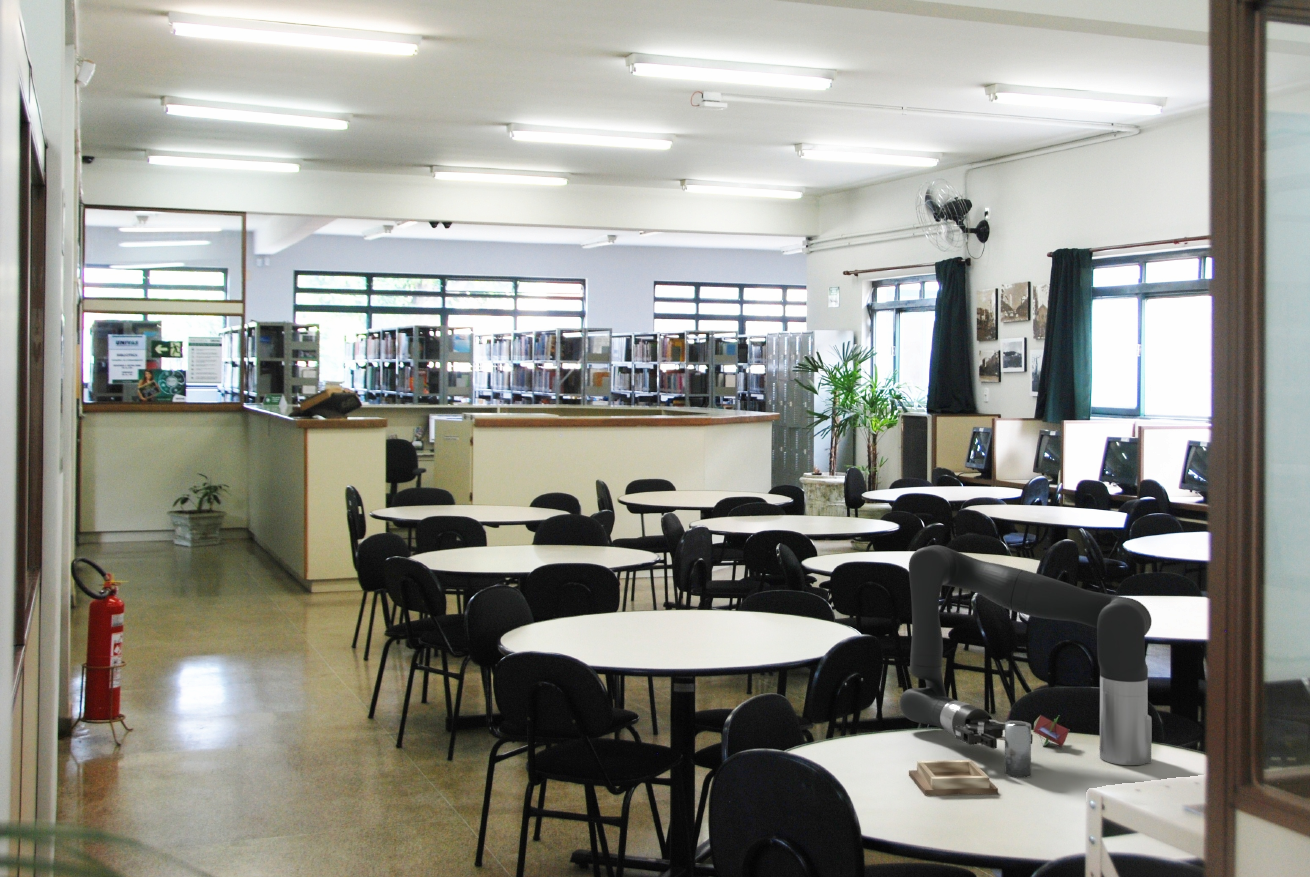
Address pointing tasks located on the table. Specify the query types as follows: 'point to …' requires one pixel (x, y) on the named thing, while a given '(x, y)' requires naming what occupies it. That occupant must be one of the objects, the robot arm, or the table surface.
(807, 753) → the table surface
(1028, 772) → the steel tube
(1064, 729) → the geometric puzzle
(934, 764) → the wooden tray
